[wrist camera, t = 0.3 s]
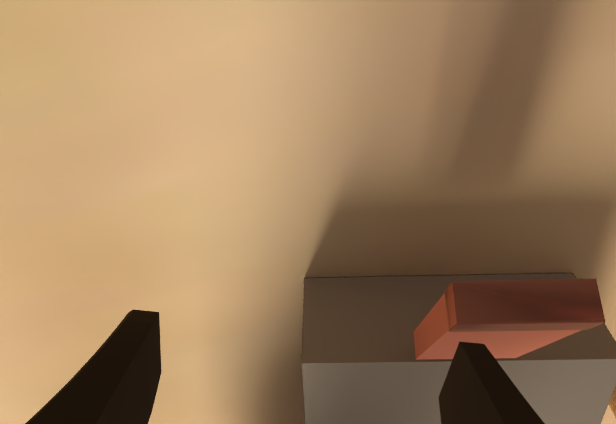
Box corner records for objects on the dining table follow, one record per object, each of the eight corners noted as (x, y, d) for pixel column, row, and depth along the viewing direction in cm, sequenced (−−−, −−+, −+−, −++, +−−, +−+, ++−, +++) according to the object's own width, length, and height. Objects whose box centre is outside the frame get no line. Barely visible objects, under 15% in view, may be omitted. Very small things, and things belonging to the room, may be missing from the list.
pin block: (525, 439, 31) (557, 530, 27) (312, 440, 31) (311, 531, 27) (572, 273, 24) (626, 358, 20) (304, 277, 25) (301, 363, 21)
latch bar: (510, 328, 20) (515, 359, 20) (413, 330, 20) (415, 360, 20) (596, 279, 14) (605, 322, 13) (452, 281, 14) (457, 324, 13)
